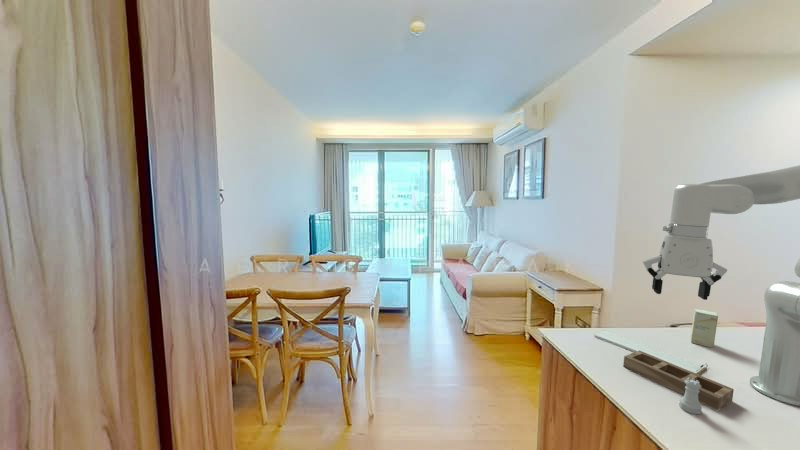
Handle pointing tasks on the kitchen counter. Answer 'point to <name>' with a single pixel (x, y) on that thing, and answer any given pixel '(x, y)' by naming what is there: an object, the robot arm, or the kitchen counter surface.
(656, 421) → the kitchen counter surface
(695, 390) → the rook chess piece
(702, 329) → the skincare box
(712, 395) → the rack
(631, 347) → the baseboard
